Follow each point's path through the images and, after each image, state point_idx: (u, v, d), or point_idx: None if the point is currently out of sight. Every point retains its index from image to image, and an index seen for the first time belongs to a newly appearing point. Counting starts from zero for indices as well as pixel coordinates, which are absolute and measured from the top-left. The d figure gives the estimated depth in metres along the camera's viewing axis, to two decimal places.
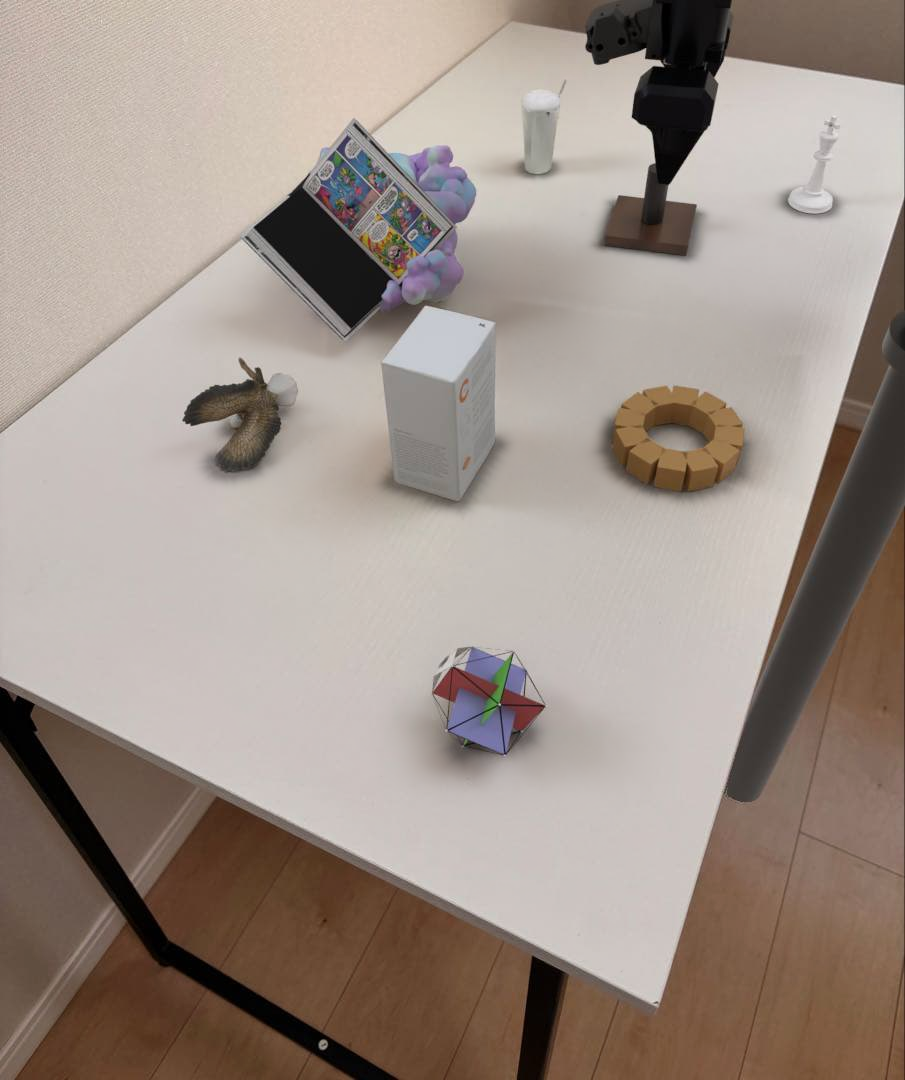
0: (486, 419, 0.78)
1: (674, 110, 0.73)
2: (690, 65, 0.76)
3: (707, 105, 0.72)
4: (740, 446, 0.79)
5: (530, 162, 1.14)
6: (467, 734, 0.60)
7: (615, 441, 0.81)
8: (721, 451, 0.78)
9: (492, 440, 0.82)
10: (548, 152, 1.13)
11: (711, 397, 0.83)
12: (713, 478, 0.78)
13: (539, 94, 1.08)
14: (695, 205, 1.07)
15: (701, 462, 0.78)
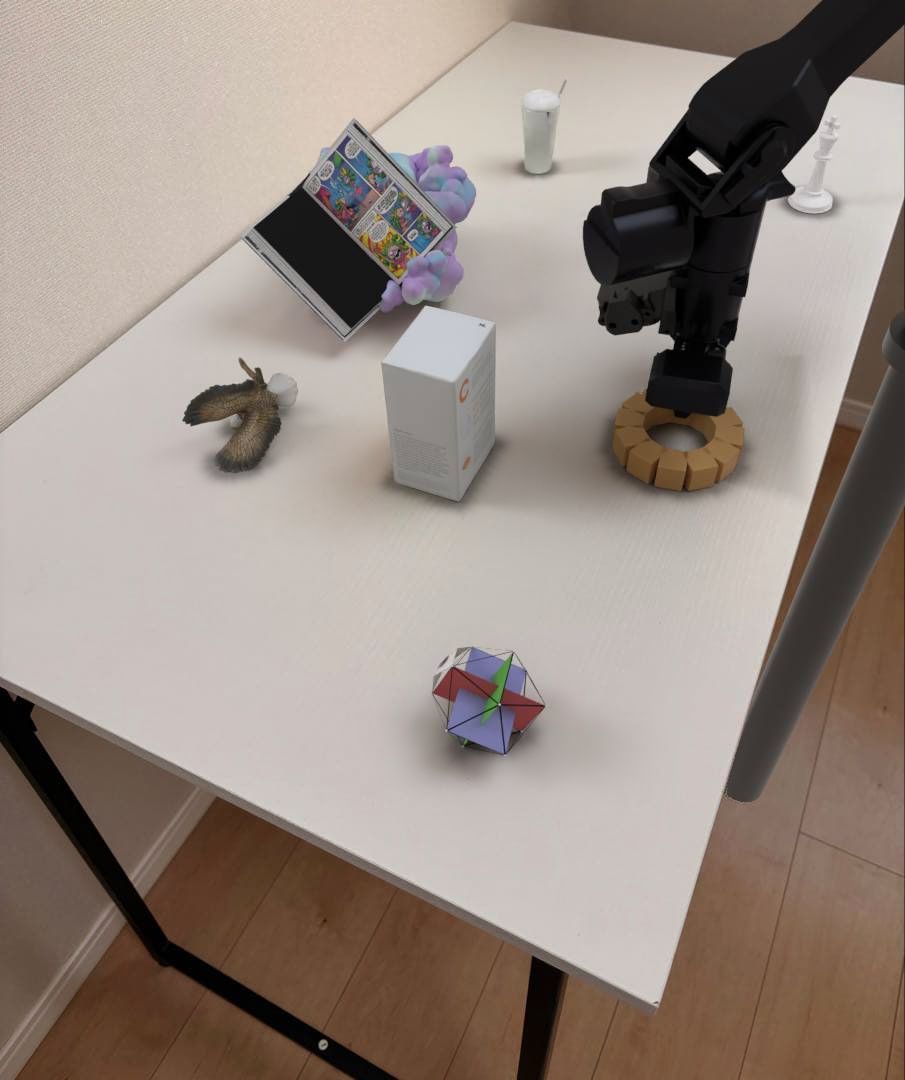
0: (486, 419, 0.78)
1: (688, 400, 0.72)
2: (704, 342, 0.75)
3: (722, 398, 0.71)
4: (740, 446, 0.79)
5: (530, 162, 1.14)
6: (467, 734, 0.60)
7: (615, 441, 0.81)
8: (721, 451, 0.78)
9: (492, 440, 0.82)
10: (548, 152, 1.13)
11: None
12: (713, 478, 0.78)
13: (539, 94, 1.08)
14: None
15: (702, 462, 0.78)
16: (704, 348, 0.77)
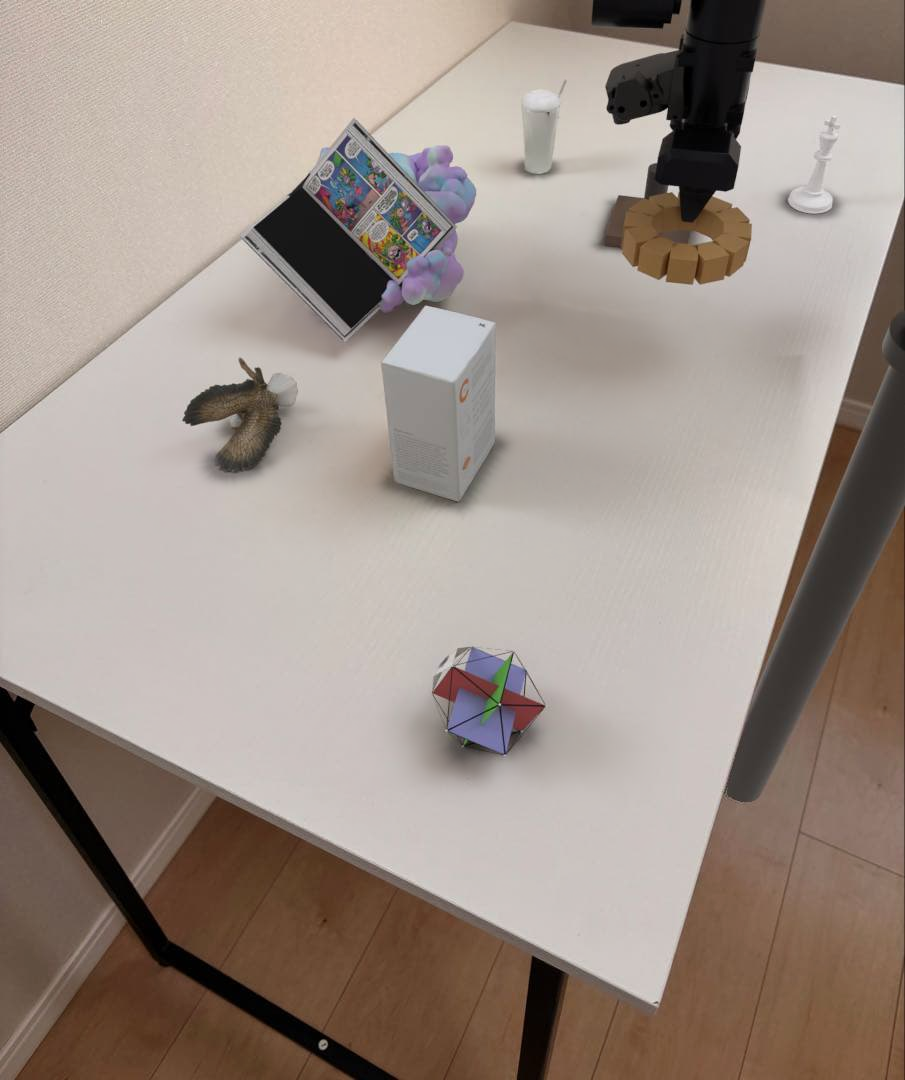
0: (486, 419, 0.78)
1: (698, 174, 0.73)
2: (711, 126, 0.76)
3: (731, 170, 0.72)
4: (749, 238, 0.80)
5: (530, 162, 1.14)
6: (467, 734, 0.60)
7: (625, 242, 0.82)
8: (731, 243, 0.79)
9: (492, 440, 0.82)
10: (548, 152, 1.13)
11: (716, 200, 0.84)
12: (724, 269, 0.79)
13: (539, 94, 1.08)
14: None
15: (712, 252, 0.78)
16: None
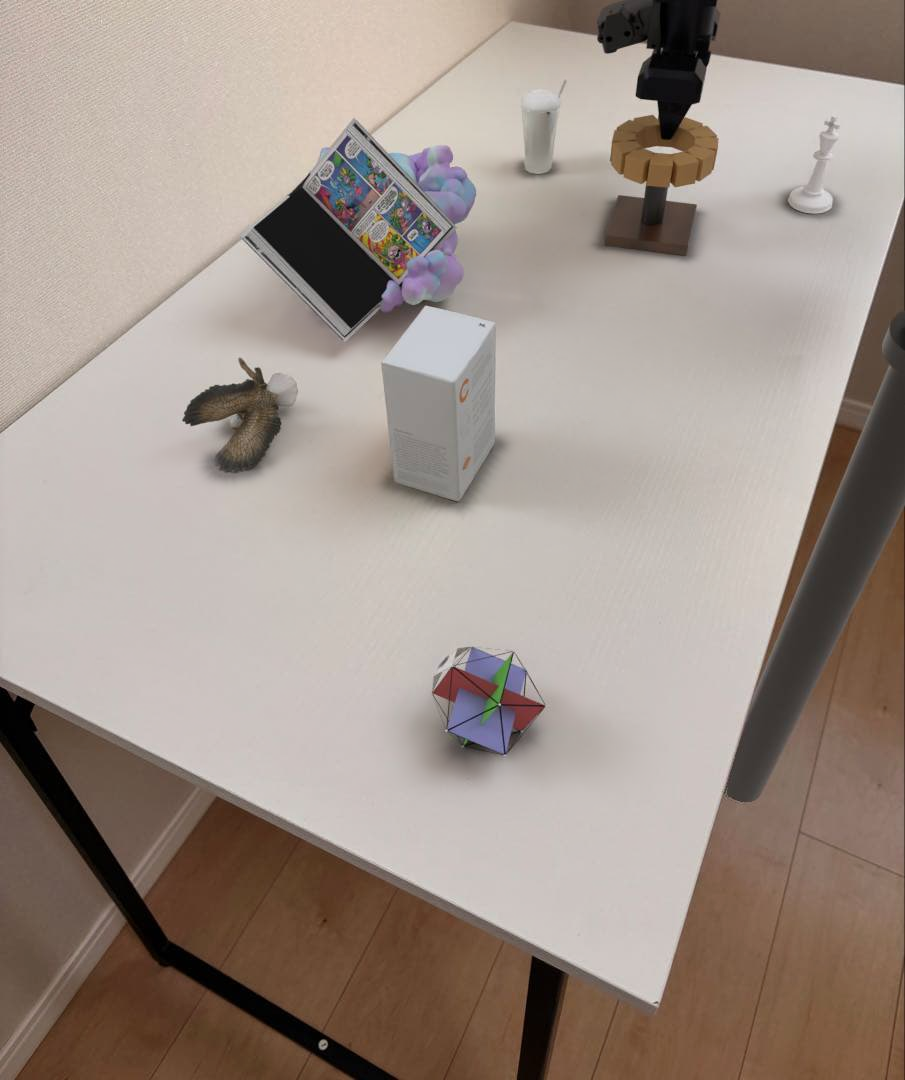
0: (486, 419, 0.78)
1: (670, 89, 0.89)
2: (683, 53, 0.93)
3: (697, 85, 0.88)
4: (716, 149, 0.96)
5: (530, 162, 1.14)
6: (467, 734, 0.60)
7: (613, 154, 0.98)
8: (700, 152, 0.96)
9: (492, 440, 0.82)
10: (548, 152, 1.13)
11: (690, 120, 1.00)
12: (695, 174, 0.96)
13: (539, 94, 1.08)
14: (695, 205, 1.07)
15: (685, 159, 0.95)
16: None
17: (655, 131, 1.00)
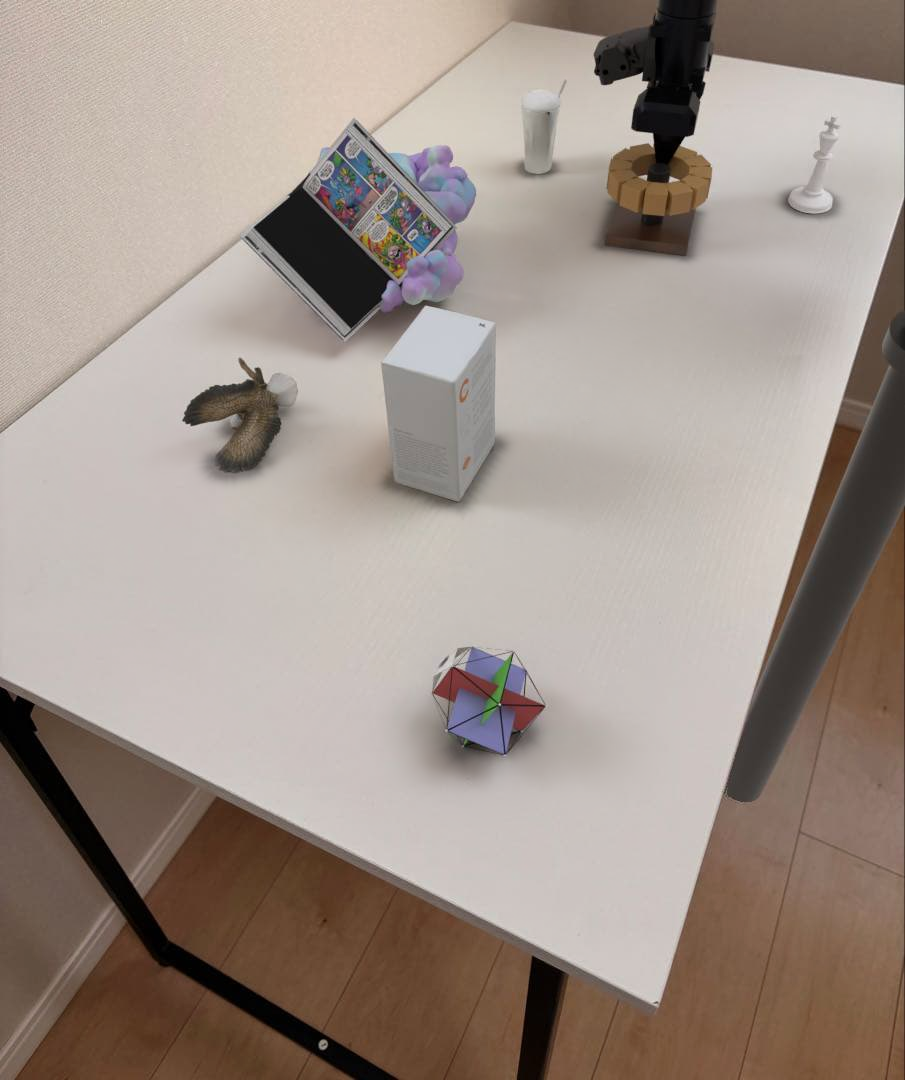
0: (486, 419, 0.78)
1: (665, 122, 0.92)
2: (678, 86, 0.95)
3: (691, 119, 0.91)
4: (709, 178, 0.99)
5: (530, 162, 1.14)
6: (467, 734, 0.60)
7: (609, 183, 1.01)
8: (695, 181, 0.98)
9: (492, 440, 0.82)
10: (548, 152, 1.13)
11: (684, 149, 1.03)
12: (689, 203, 0.98)
13: (539, 94, 1.08)
14: None
15: (679, 189, 0.97)
16: None
17: (650, 159, 1.03)
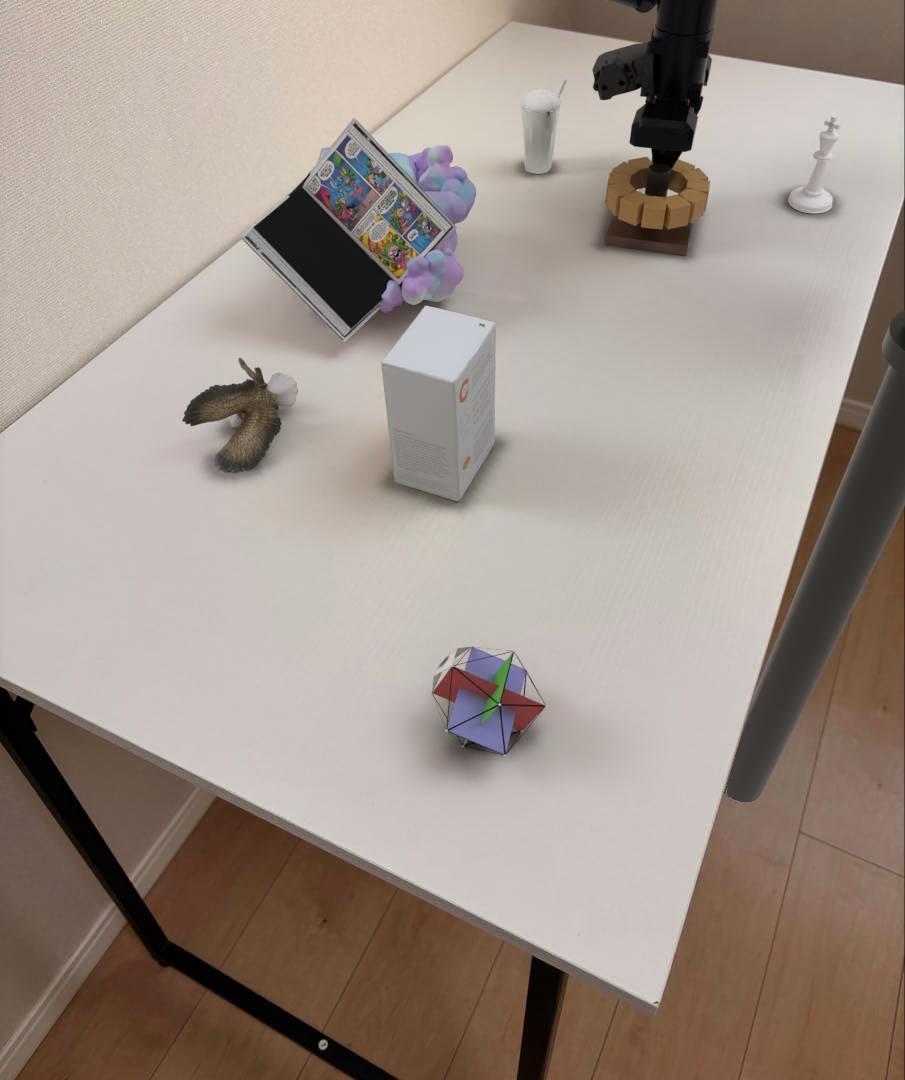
0: (486, 419, 0.78)
1: (663, 138, 0.93)
2: (676, 101, 0.96)
3: (688, 134, 0.92)
4: (707, 192, 1.00)
5: (530, 162, 1.14)
6: (467, 734, 0.60)
7: (608, 196, 1.02)
8: (692, 195, 0.99)
9: (492, 440, 0.82)
10: (548, 152, 1.13)
11: (682, 162, 1.04)
12: (687, 217, 0.99)
13: (539, 94, 1.08)
14: None
15: (677, 203, 0.99)
16: None
17: None
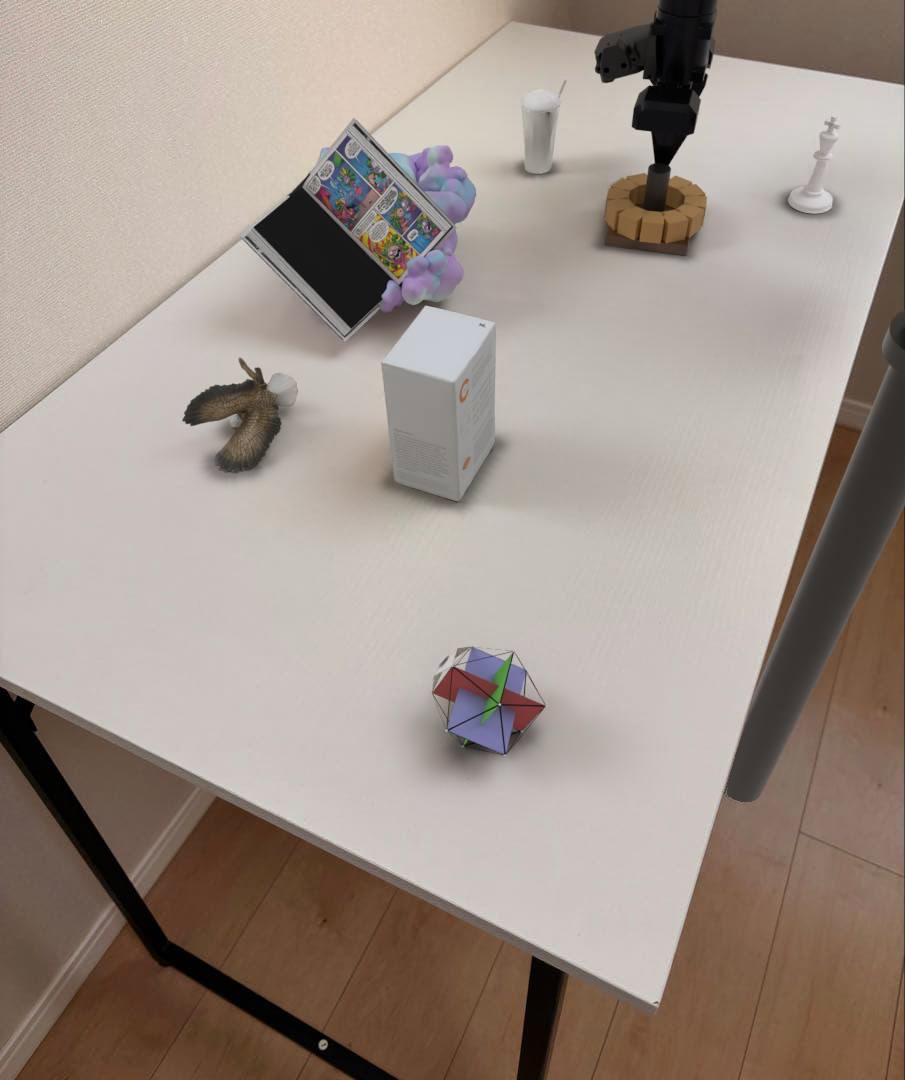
0: (486, 419, 0.78)
1: (665, 121, 0.92)
2: (679, 84, 0.95)
3: (691, 117, 0.91)
4: (704, 207, 1.02)
5: (530, 162, 1.14)
6: (467, 734, 0.60)
7: (607, 211, 1.04)
8: (690, 210, 1.01)
9: (492, 440, 0.82)
10: (548, 152, 1.13)
11: (680, 178, 1.06)
12: (685, 231, 1.01)
13: (539, 94, 1.08)
14: None
15: (675, 217, 1.00)
16: None
17: None
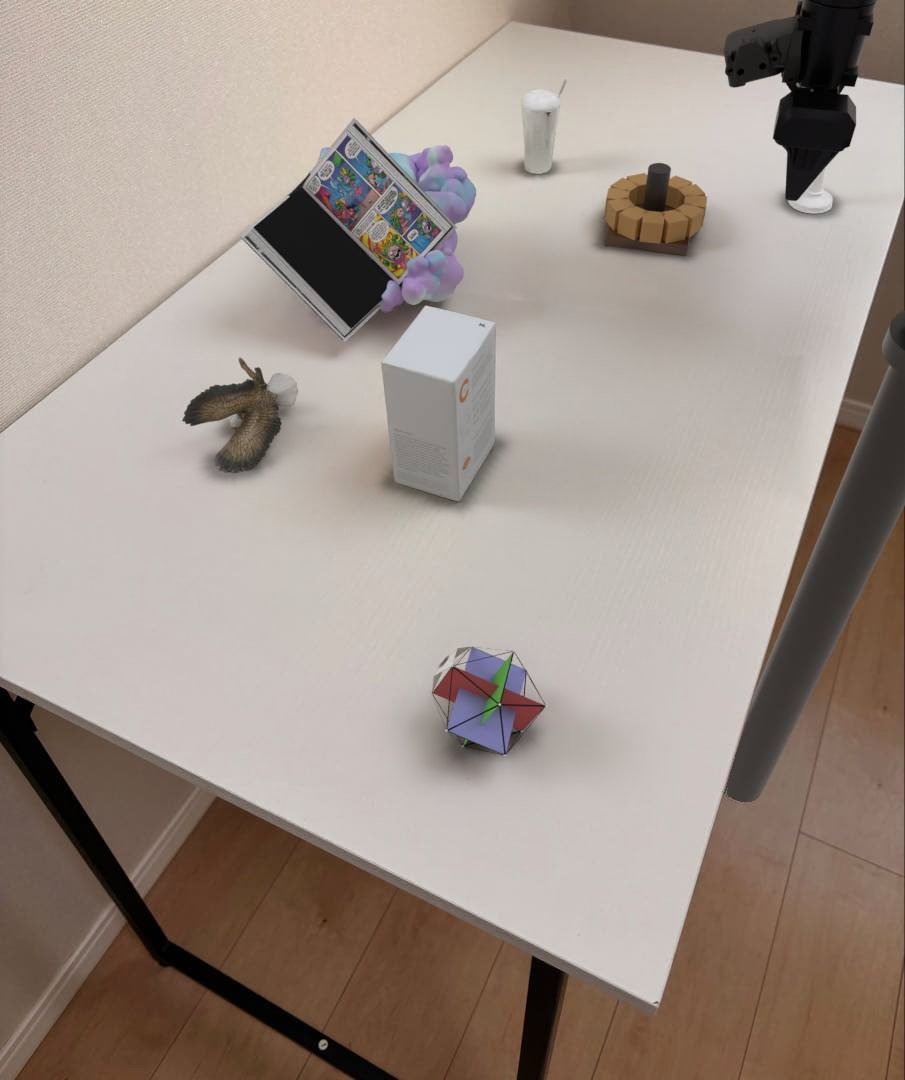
0: (486, 419, 0.78)
1: (816, 132, 0.77)
2: (826, 88, 0.80)
3: (849, 128, 0.76)
4: (704, 207, 1.02)
5: (530, 162, 1.14)
6: (467, 734, 0.60)
7: (607, 211, 1.04)
8: (690, 210, 1.01)
9: (492, 440, 0.82)
10: (548, 152, 1.13)
11: (680, 178, 1.06)
12: (685, 231, 1.01)
13: (539, 94, 1.08)
14: None
15: (675, 217, 1.00)
16: None
17: None
